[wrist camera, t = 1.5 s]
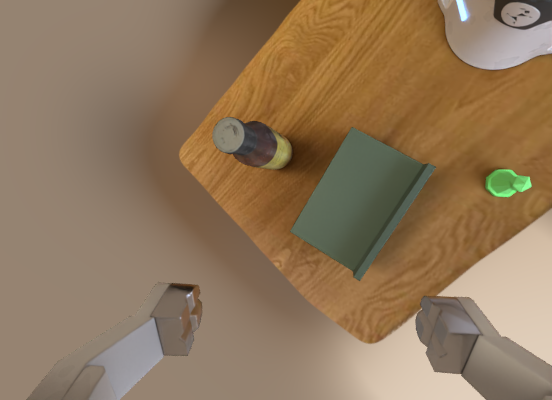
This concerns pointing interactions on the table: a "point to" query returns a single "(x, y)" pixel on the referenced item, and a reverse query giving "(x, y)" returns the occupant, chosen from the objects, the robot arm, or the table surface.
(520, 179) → the game piece
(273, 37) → the table surface
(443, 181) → the table surface
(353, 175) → the shelf
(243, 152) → the sauce bottle
